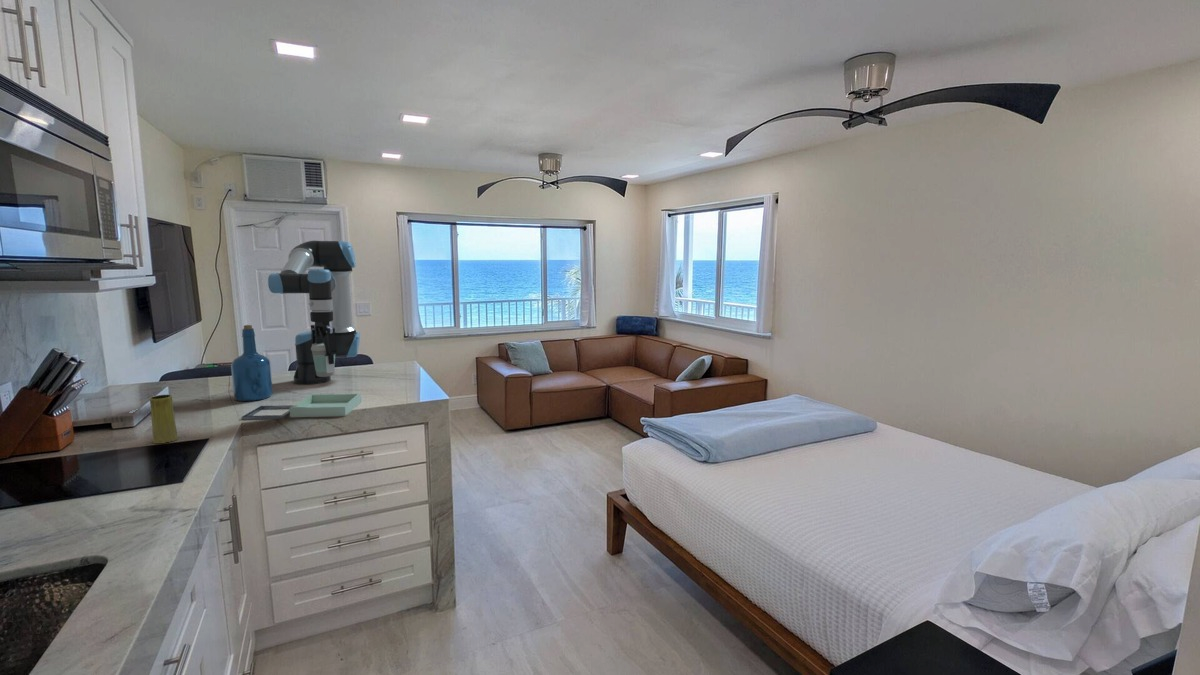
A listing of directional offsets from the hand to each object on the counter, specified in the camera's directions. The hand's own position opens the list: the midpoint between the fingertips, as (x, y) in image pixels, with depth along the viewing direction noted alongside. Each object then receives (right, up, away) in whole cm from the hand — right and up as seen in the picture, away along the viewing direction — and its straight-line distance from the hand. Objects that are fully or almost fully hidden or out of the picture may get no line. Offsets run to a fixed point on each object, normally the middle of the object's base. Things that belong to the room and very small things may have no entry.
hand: (325, 370), depth 195 cm
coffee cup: (0, -2, 0) cm, 2 cm away
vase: (-32, -20, -33) cm, 51 cm away
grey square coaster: (-18, -16, -4) cm, 24 cm away
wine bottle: (-38, -12, +16) cm, 43 cm away
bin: (0, -15, +3) cm, 15 cm away
